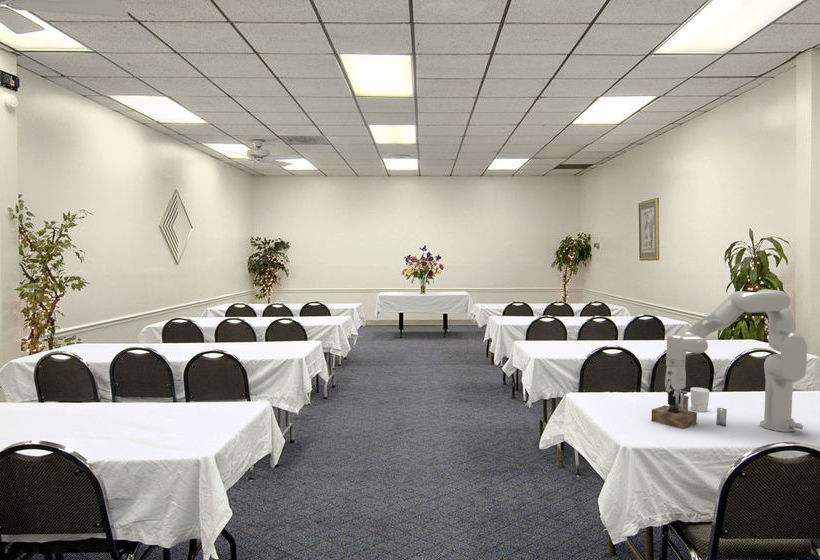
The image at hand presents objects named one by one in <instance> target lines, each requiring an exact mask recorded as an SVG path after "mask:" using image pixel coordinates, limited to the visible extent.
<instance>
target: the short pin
mask: <svg viewBox="0 0 820 560" xmlns="http://www.w3.org/2000/svg"><path fill="white" fill-rule="evenodd" d="M727 413H728V412H727V409H726V408H724V407H717V408H716V425H717V426H719V427H726V426H727V417H728V416H727Z"/></svg>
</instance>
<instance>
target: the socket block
mask: <svg viewBox="0 0 820 560" xmlns="http://www.w3.org/2000/svg"><path fill="white" fill-rule="evenodd" d="M697 416H698V412H697V411H693V410H689V409H688V410H683V409H679V408H678V413H673V412H669V405H666V404H665V405H662V406H658V407H656V408H653V409H651V418H650V419H651V421H652V422H654V421H655V423H658V422H659V424H662V425H666V426H670V427H675V428H678V429H682V430H685V429H688V428H690V427H692V426H696V425H697V424H698V421H697V420H698V417H697Z"/></svg>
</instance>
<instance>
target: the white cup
mask: <svg viewBox="0 0 820 560" xmlns="http://www.w3.org/2000/svg"><path fill="white" fill-rule="evenodd" d="M709 397H710V390H709V389H708V388H705V387H704V388H703V387H690V408H691V411H693V412H697V413H698V412H700V413H706V412H708V408H709V407H708V406H709V399H710V398H709Z"/></svg>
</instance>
